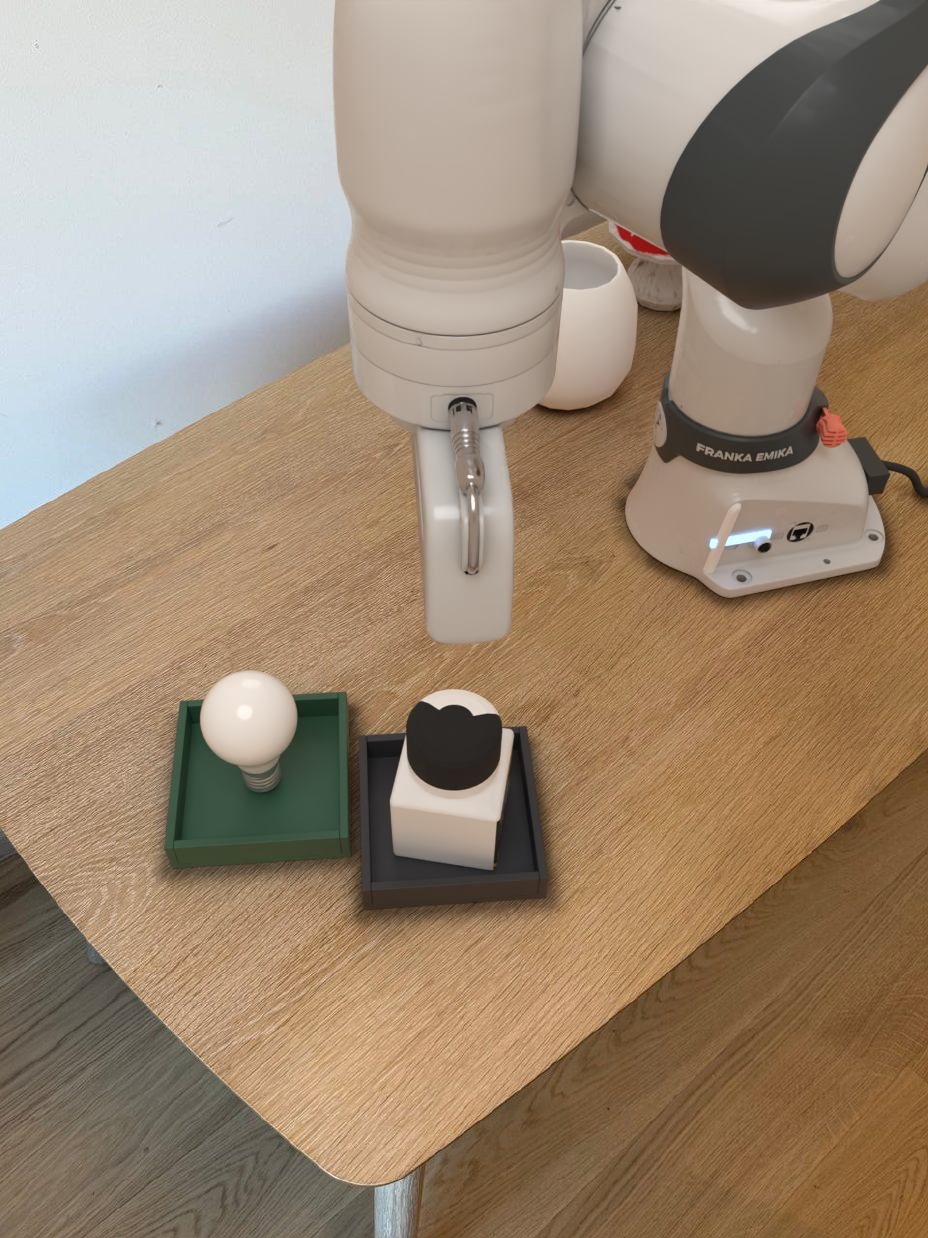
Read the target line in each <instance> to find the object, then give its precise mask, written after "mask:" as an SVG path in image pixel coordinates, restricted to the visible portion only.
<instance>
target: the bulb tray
mask: <svg viewBox="0 0 928 1238" xmlns="http://www.w3.org/2000/svg"><path fill="white" fill-rule="evenodd" d="M291 694H292V693H291ZM347 694H348V693H347V691H329V692H312V693H310V692H309V693H293V694H292V696H293V698H294V701H295V704H296V708H297V715H298V720H297V728H296V732H295V734H294V737H293V739H292V741H291V743H290V744H289V746H288V747H287V748H286V750H285V751H284V752H283V753H282V754H281V755H280V758H279V764H280V769H281V780H280V782H279V783H278V785H277V786H276V787H275V788H273V789H272V790H270V791H267V792H255V791H252V790H250V789H249V788H248V787H247V786H246V785H245V783H244V780H243V776H242V772H241V769H240V768H239V767H238V766H237V765H234V764H231V763H228V762H226V761H224V760H223V759H221V758H220V757H218V756H217V755H216V754H215V753H214V752H213V751H212V750H211V749H210V748H209V746H208V745H207V743H206V741H205V739H204V737H203V734H202V731H201V726H200V712H201V707H202V704H203V701H204V699H205V698H204V699H203V698H202V699H188V700H187V699H186V700H185V699H184V700H179V707H178V715H177V725H176V734H175V741H174V743H175V744H174V752H173V754H174V755H173V760H172V761H173V762H172V771H171V779H170V781H171V782H170V791H169V799H168V800H169V801H168V808H167V809H168V810H167V819H166V827H165V838H164V848H163V849H164V852H165V854H166V857H167V859H168V862H169V864H170V867H171V869H186V868H202V867H216V866H217V867H218V866H229V865H230V866H231V865H232V866H233V865H247V864H248V865H249V864H264V863H278V862H280V863H281V862H292V861H293V862H295V861H308V860H321V859H322V860H325V859H326V860H327V859H339V858H342V859H343V858H351V857H352V833H351V831H352V830H351V829H352V826H351V824H352V823H351V822H352V821H351V820H352V819H351V768H350V767H351V765H350V764H351V762H350V761H351V760H350V713H349V712H350V711H349V703H348V702H349V701H348V695H347Z"/></svg>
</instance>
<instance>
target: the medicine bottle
mask: <svg viewBox="0 0 928 1238" xmlns="http://www.w3.org/2000/svg"><path fill="white" fill-rule="evenodd" d="M502 727H503V721H502V719H501V716H500V714H499V712H498V710H497V709H496V707H495V706H494V705H493V704H492V703H491V702H490V701H489V700H488V699H486V698H485V697H483V696H481V695H480V694H477V693H475V692H473V691H470V690H465V689H459V688H452V689H451V688H450V689H449V688H448V689H441V690H438V691H434V692H433V693H432V692H431V693H430V694H428V695H426V696H425V697H423V698H422V699H420V700H419V701H418V702H417V703H416V704H415V705H414V706H413V708H412V709H411V710H410V712H409V714H408V716H407V719H406V724H405V733H406V736H405V741H404V745H403V749H402V753H401V757H400V761H399V765H398V769H397V773H396V778H395V782H394V786H393V790H392V794H391V798H390V810H391V826H392V841H393V852H394V854H395V855H396V856H401V857H407V858H413V859H420V860H426V861H432V862H438V863H445V864H451V865H457V866H464V867H470V868H476V869H482V870H489V871H493V870H494V869H495V868H496V865H497V859H498V853H499V847H500V841H501V835H502V829H503V822H504V816H505V810H506V804H507V798H508V792H509V785H510V774H511V763H512V752H513V741H514V733H513V731H512V730H511V729H506V728H502Z"/></svg>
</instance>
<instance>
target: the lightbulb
mask: <svg viewBox="0 0 928 1238" xmlns="http://www.w3.org/2000/svg"><path fill="white" fill-rule="evenodd" d="M297 720H298V715H297V708H296V704H295V701H294V698H293V696H292V693H291V691H290V689H289V688H288V686H286V685H285V684H284V683H283V682H282V681H281V680H279V679H278V678H277V677H275V676H274V675H272V674H270V673H267V672H264V671H260V670H254V669H246V670H239V671H235V672H232V673H230V674H228V675H225V676H224V677H222V678H220V679H219V680H218V681H217V682H216V683H214V684H213V686H211V688H210V689H209V690H208V692H207V693H206V695H205V697H204V701H203V704H202V707H201V712H200V726H201V731H202V734H203V737H204V739H205V741H206V743H207V745H208V746H209V748H210V749H211V750H212V751H213V752H214V753H215V754H216V755H217V756H218V757H220V758H221V759H223V760H224V761H226V762H228V763H231V764H234V765H237V766H238V767H239V768H240V769H241V772H242V776H243V780H244V783H245V785H246V786H247V787H248V788H249V789H250V790H252V791H255V792H267V791H270V790H272V789H273V788H275V787H276V786H277V785H278V783H279V782H280V780H281V769H280V764H279V758H280V755H281V754H282V753H283V752H284V751H285V750H286V748H287V747H288V746H289V744H290V743H291V741H292V739H293V737H294V734H295V732H296V728H297Z"/></svg>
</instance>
